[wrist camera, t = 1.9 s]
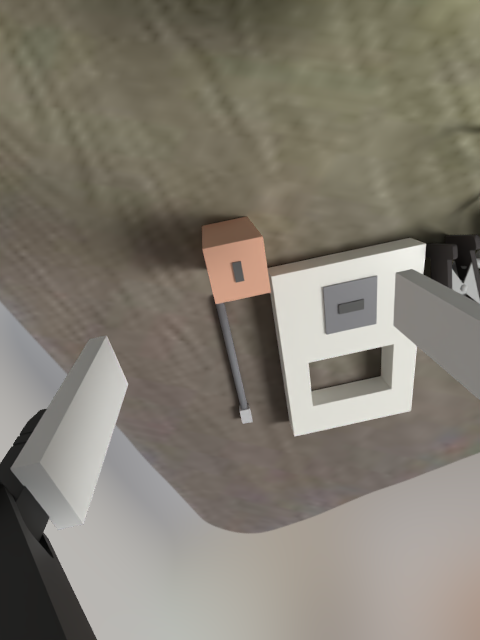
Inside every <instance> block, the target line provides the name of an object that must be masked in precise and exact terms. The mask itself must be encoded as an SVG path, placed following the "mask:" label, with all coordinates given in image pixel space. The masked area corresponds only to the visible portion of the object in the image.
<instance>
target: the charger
mask: <svg viewBox="0 0 480 640" xmlns="http://www.w3.org/2000/svg"><path fill="white" fill-rule="evenodd" d="M202 250H203V254H204V258H205V262H206V266H207V270H208V275H209V279H210V283H211V287H212V291H213V295H214V299H215V304H219V303H224V302H228V301H233V300H238V299H242V298H247V297H252V296H256V295H261V294H266V293H271V289H270V282H269V275H268V269H267V262H266V255H265V248H264V242H263V236H262V235H261V234H260V232H259V231H258V230H257V229H256V227H255V226H254V225H253V223H252V222H251V221H250V220H249V218H248V217H242V218H237V219H232V220H228V221H223V222H218V223H213V224H209V225H204V226H202Z"/></svg>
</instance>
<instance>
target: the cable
mask: <svg viewBox="0 0 480 640" xmlns="http://www.w3.org/2000/svg"><path fill="white" fill-rule="evenodd" d="M216 307H217V311H218V315H219V319H220V324H221V328H222V332H223V336H224V340H225V344H226V348H227V353H228V357H229V361H230V365H231V369H232V373H233V378H234V382H235V386H236V390H237V394H238V398H239V402H240V406H239V411H240V415H241V419H242V423H243V424H244V423H249V422H253V421H252V416H251V411H250V407H249V404H247V402H246V397H245V393H244V388H243V384H242V380H241V375H240V371H239V366H238V362H237V358H236V353H235V349H234V344H233V340H232V336H231V331H230V327H229V322H228V318H227V314H226V309H225V305H224V303H219V304H216Z"/></svg>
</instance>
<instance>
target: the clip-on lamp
mask: <svg viewBox="0 0 480 640" xmlns="http://www.w3.org/2000/svg"><path fill="white" fill-rule="evenodd" d="M477 249H479V250H478V252H477V253H476V255H475V250H477ZM425 255H426V257H427V258H431V279H433V280H435V281H437V282H439V283H440V284H442V285H444V286H446V287H448V288H450V289H452V290H454V291H456V292H458V293H460V294H462V295H464V296H466V297H468V298H470V299H471V300H473V301H475V302H477V303H479V304H480V274H479V269H478V268H480V238H479V236H478V235H476V234H474V235H448V236H445V244H435V243H430V244H426V252H425ZM452 260H454V262H453V264H452Z"/></svg>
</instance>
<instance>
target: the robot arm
mask: <svg viewBox="0 0 480 640" xmlns="http://www.w3.org/2000/svg"><path fill="white" fill-rule="evenodd" d="M393 326H394V327H395V328H397V329H398V330H399V331H400V332H401V333H402V334H404V335H405V336H406V337H407V338H408V339H409V340H411V341H412V342H413V343H414V344H415V345H416V346H418V347H419V348H420V349H421V350H422V351H423V352H424V353H426V354H427V355H428V356H429V357H430V358H431V359H433V360H434V361H435V362H436V363H437V364H438V365H440V366H441V367H442V368H443V369H444V370H445V371H447V372H448V373H449V374H450V375H451V376H452V377H454V378H455V379H456V380H457V381H458V382H459V383H461V384H462V385H463V386H464V387H465V388H466V389H468V390H469V391H470V392H471V393H472V394H473V395H475V396H476V397H477V398H478V399H479V400H480V304H479V303H477V302H475V301H473V300H471V299H470V298H468V297H466V296H464V295H462V294H460V293H458V292H456V291H454V290H452V289H450V288H448V287H446V286H444V285H442V284H440V283H439V282H437V281H435V280H433V279H431V278H429V277H427V276H425V275H423V274H421V273H419V272H417V271H415V270H413V269H410V270H405V271H400V272H396V275H395V298H394V320H393ZM127 386H128V383H127V380H126V378H125V376H124V374H123V371H122V369H121V367H120V364H119V362H118V360H117V358H116V355H115V353H114V351H113V349H112V346H111V344H110V342H109V340H108V337H107V335H106V336H102V337H97V338H93V339H89V341H88V343H87V344H86V346H85V347H84V349H83V351H82V352H81V354H80V356H79V357H78V359H77V361H76V362H75V364H74V365H73V367H72V369H71V370H70V372H69V374H68V375H67V377H66V378H65V380H64V382H63V383H62V385H61V387H60V389H59V390H58V392H57V393H56V395H55V397H54V398H53V400H52V401H51V403H50V405H49V406H48V408H47V409H43V410H40V411H39V412H38V413H37V414H36V415H34V416H33V417H32V418H31V419H30V420H29V421H28V422H27V424H26V425H25V427H24V428H23V430H22V431H21V433H20V436H18V437H17V439H16V440H15V442H14V444H13V447H11V448H10V450H9V451H8V453H7V454H6V456H5V457H4V459H3V460H2V462H1V463H0V640H97V639H96V637H95V635H94V633H93V631H92V628H91V626H90V624H89V622H88V620H87V618H86V616H85V614H84V612H83V610H82V608H81V606H80V604H79V601H78V599H77V598H76V595H75V593H74V591H73V589H72V587H71V585H70V583H69V581H68V579H67V576H66V574H65V572H64V570H63V568H62V566H61V564H60V562H59V560H58V558H57V556H56V554H55V552H54V549H53V547H52V545H51V543H50V541H49V539H48V538H47V536H46V535H45V534H44V533H43V531H44V529H45V527H46V524H47V522H48V519H50V520H51V522H52V523H53V524H54V526H55V527H56V528H57V529H58V530H61V529H65V528H69V527H74V526H78V525H82V524H84V521H85V518H86V515H87V512H88V509H89V506H90V503H91V499H92V496H93V493H94V490H95V487H96V484H97V480H98V477H99V474H100V471H101V468H102V465H103V461H104V458H105V455H106V452H107V449H108V446H109V443H110V440H111V436H112V433H113V430H114V427H115V424H116V421H117V418H118V415H119V411H120V408H121V405H122V402H123V399H124V396H125V393H126V389H127Z"/></svg>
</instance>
